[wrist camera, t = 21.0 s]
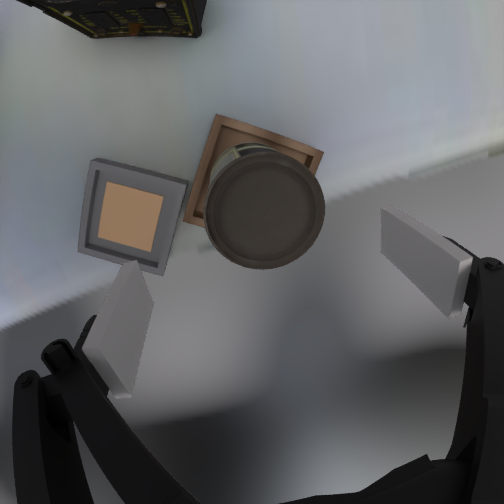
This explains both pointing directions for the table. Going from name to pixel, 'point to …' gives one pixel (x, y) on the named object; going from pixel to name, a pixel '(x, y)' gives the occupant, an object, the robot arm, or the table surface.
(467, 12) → the table surface
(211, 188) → the coffee can
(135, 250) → the checker cradle
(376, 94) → the table surface
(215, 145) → the walnut tray
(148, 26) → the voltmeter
